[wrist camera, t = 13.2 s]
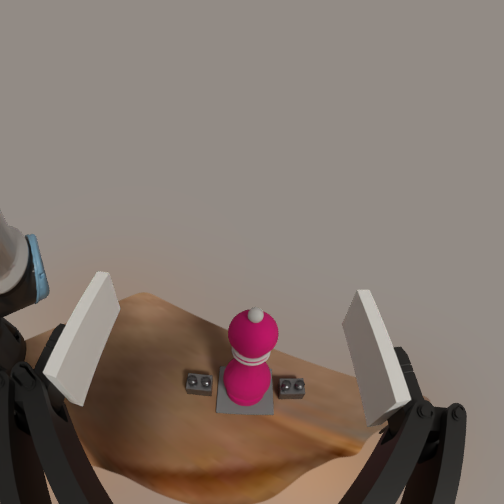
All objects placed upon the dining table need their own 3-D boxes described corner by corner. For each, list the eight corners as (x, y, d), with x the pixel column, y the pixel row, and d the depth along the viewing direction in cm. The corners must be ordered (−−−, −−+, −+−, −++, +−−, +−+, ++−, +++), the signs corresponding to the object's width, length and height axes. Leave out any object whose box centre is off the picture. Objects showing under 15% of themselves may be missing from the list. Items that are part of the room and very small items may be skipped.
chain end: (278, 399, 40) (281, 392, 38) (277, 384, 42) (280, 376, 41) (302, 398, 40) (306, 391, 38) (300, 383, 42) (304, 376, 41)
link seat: (216, 412, 37) (216, 412, 37) (220, 367, 44) (220, 366, 44) (273, 414, 37) (273, 414, 37) (271, 369, 45) (271, 368, 44)
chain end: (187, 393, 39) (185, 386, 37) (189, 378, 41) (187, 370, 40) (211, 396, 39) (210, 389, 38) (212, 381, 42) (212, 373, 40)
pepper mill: (274, 384, 42) (299, 303, 30) (253, 416, 36) (270, 346, 25) (238, 365, 44) (245, 279, 33) (214, 394, 39) (209, 315, 28)
